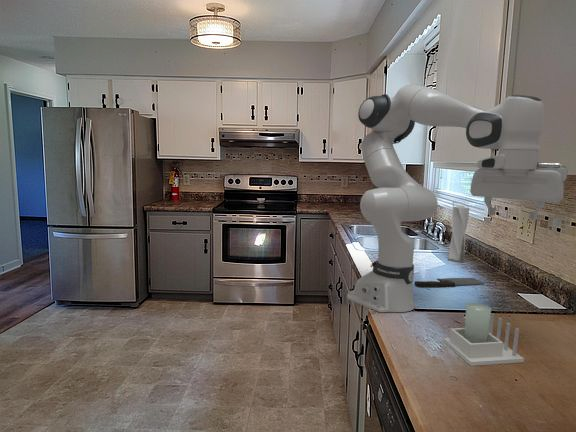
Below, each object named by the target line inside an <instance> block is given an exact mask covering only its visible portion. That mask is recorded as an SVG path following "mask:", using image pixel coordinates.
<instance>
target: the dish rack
mask: <svg viewBox="0 0 576 432" xmlns="http://www.w3.org/2000/svg"><path fill="white" fill-rule="evenodd" d="M494 319H495V313H492V312H491V315H490V324H489V334H488V342H486V343H470V342H469V341H468V340H467V339H465V338H464V327H457V328H456V327H454V328H450V330H449V332H450V333H449V337H446V338H445V337H444V338H443V340H442V342H443V343H444V344H445V345H446V346H448V347H449V348H450V349H451V350H452V351H453V352H454V353H456V354H457V355H458V356H459V357H460V358H461V359H462V360H463V361H465V362H466V363H467V364H468V365H469V366H470V367H473V366H474V367H477V366H489V365H490V366H491V365H503V364H506V365H507V364H519V363H524V362H525V358H524V357H523V356H521V355H520V354H519V353H517V352H518V343H519V335H520V328H517V327H516V328H515V329H514V335H513V336H514V337H513V343H512V349H511V348H510V347H509V341H510V331H511V323H509V322H506V326H505V334H504V342H503V341H502V340H501V333H502V322H503V318H501V317H498V319H497V327H496V328H497V329H496V336H495V335H493V332H494V323H495V322H494Z"/></svg>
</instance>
